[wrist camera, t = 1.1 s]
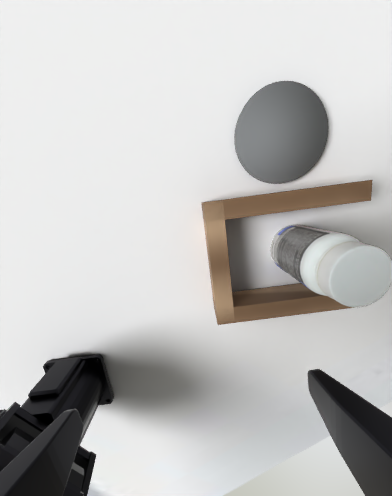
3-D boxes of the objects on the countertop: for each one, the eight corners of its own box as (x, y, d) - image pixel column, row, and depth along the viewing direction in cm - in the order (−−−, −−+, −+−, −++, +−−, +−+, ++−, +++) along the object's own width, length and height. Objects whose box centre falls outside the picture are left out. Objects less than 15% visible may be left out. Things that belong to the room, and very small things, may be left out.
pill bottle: (269, 272, 20) (321, 318, 12) (268, 227, 19) (323, 244, 11) (315, 266, 20) (397, 309, 12) (316, 221, 19) (406, 234, 11)
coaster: (322, 177, 18) (327, 176, 18) (238, 188, 19) (239, 188, 18) (324, 78, 17) (329, 74, 16) (230, 92, 17) (231, 88, 16)
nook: (340, 291, 21) (363, 306, 18) (214, 308, 21) (217, 324, 18) (343, 183, 19) (372, 179, 16) (201, 202, 19) (203, 202, 16)
